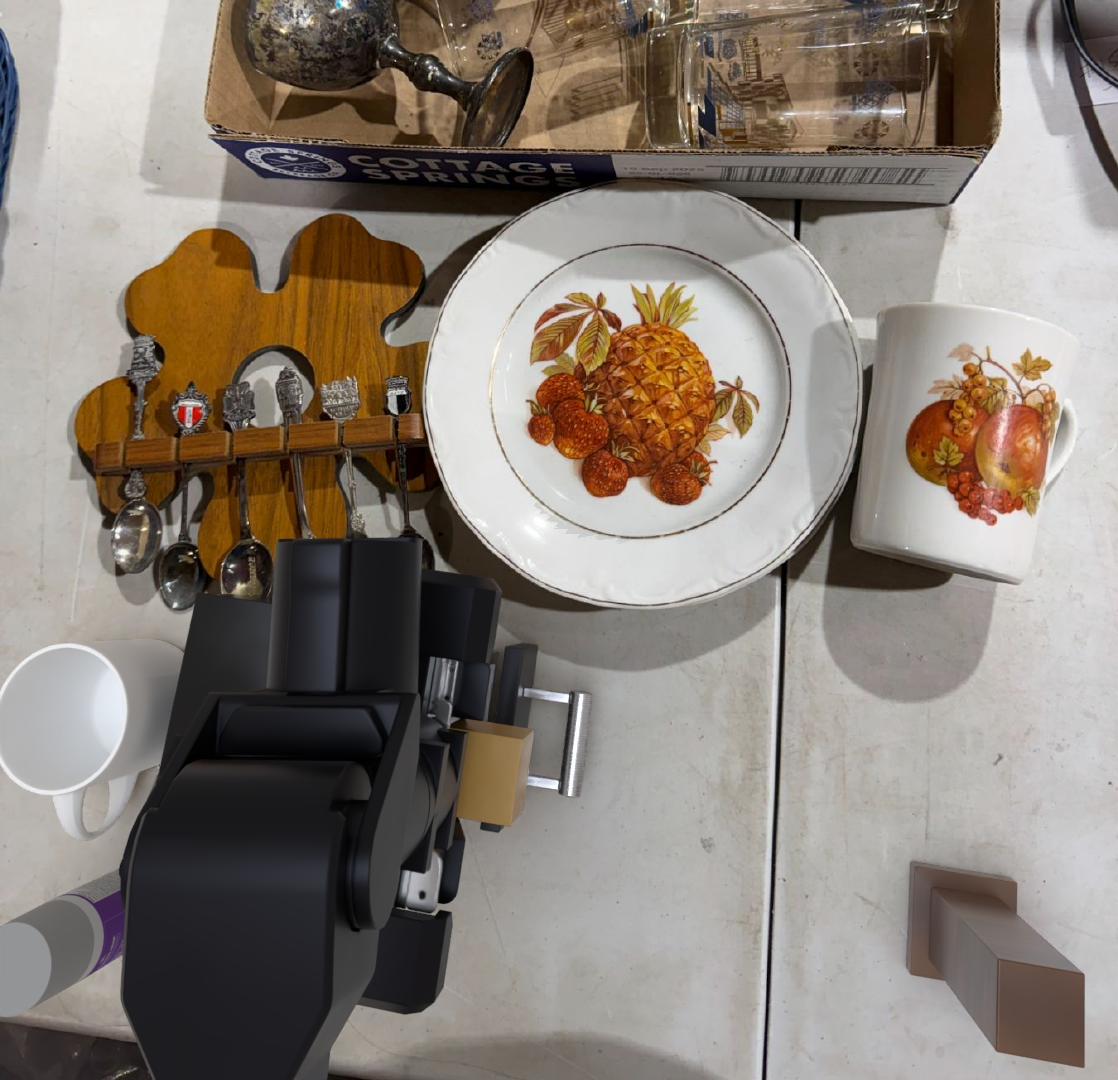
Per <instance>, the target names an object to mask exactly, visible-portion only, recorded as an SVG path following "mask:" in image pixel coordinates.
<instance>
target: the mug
mask: <svg viewBox="0 0 1118 1080" xmlns="http://www.w3.org/2000/svg"><path fill="white" fill-rule="evenodd" d="M183 655H184V651H182V650H181V649H180V648H179V647H177V646H175V645H174V644H171V643H168V642H167V641H164V640H159V639H155V638H154V639H153V638H129V639H116V640H115V639H112V640H95V641H78V642H77V641H75V642H61V643H55V644H51V645H49V646H45V647H43V648H40V649H39V650H37V651H34V652H33V653H32V654H30V655H29V656H27V657H26V658H25V659H24V660H22V661H21V662H20V663H19V664H18V665H17V666H16V667H15V668H14V669H13V670H12V671H11V673H10V674H9V675H8V677H7V678H6V680H5V681H4V683H3V685H2V687H1V688H0V766H1V768H2V770H3V771H4V773H5V774H6V775H7V776H8V777H9V779H11V780H12V781H13V783H15V784H16V785H18V786H19V787H20V788H22V789H24V790H27V791H28V792H31V793H34V794H37V795H40V796H41V795H42V796H51V798H52V801H53V805H54V809H55V812H56V815H57V818H58V820H59V823H60V824H61V826H62V828H63V830H64V831H65V832H66V834H67V835H68V836H70V837H71V838H72V839H74V840H77V841H79V842H90V841H92V840H95V839H96V838H98V837H100V836H102V835H104V834H105V833H106V832H107V831H108V830H110V829H111V828H112V827H113V826H114V825H115V823H116V822H117V821H118V820H119V818H120V817H121V815H122V814H123V812H124V811H125V809H126V807H127V806H128V804H129V802H130V799H131V796H132V794H133V792H134V789H135V786H136V783H137V780H138V776H139V774H140V773H141V772H143V771H147V770H149V769H151V768H154V767H156V766H158V765H160V764H161V759H162V754H163V750H164V745H165V740H166V736H167V731H168V726H169V721H170V717H171V712H172V707H173V703H174V698H175V693H176V688H177V684H178V679H179V674H180V670H181V665H182V660H183ZM106 782H107V784H108V791H109V793H108V795H109V802H108V809H107V813H106V815H105V818H104V820H103V822H102V824H101V825H100V827H98V828H97V829H96V830H94V831H88V829H86V827H85V823H84V817H83V811H84V810H83V809H84V802H85V795H86V792H87V790H88V788H90V787H94V786H95V785H99V784H103V783H106Z"/></svg>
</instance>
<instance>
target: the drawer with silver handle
mask: <svg viewBox="0 0 1118 1080" xmlns="http://www.w3.org/2000/svg"><path fill="white" fill-rule="evenodd" d="M538 650H539V645H538V644H535V643H527V642H519V643H514V644H510V645H505V646H504V649H503V657H502V665H501V672H500V679H499V685H498V686H499V687H498V692H497V693H498V695H497V700H496V709H495V716H494V722H493V723H497V724H503V725H509V726H515V727H521V728H528V729H529V720H530V711H531V705H532V699H533V700H537V701H545V702H552V703H558V704H564V705H565V704H566V705H568V709H567V717H566V725H565V735H564V741H563V749H562V750H563V751H562V759H561V768H560V775H559V777H558V778H557V777H552V776H545V775H539V774H532V773H528V781H527V787H532V788H538V789H545V790H552V791H558V792H557V793H558V794H559V795H560V796H563V797H566V798H571V799H572V798H573V799H577V798H581V797H582V792H583V791H582V790H583V784H584V774H585V767H586V758H587V749H588V748H587V747H588V739H589V731H590V722H591V713H592V704H593V697H594V695H593V692H589V691H584V690H577V689H572V690H570V691H569V692H564V691H557V690H551V689H545V688H537V687H534V681H535V675H536V673H535V672H536V665H537V659H538ZM499 660H500V650H498V649H493V652H492V655H491V658H490V662H489V665H490V670H491V672H490V679H489V686H488V693H487V699H486V706H485V713H484V720H483V721H485V722H491V716H492V709H493V702H494V696H495V688H496V680H497V673H498V667H499ZM428 717H430V718H431V717H435V715H433V714H428ZM458 719H460V718H455V717H452V718H451V723H453V722H454V721H456V720H458ZM504 828H505V826H502V825H497V824H491V823H486V822H480V825H479V830H480V831H484V832H491V833H495V834H496V833H497V834H499V833H501V831H502V830H503V829H504Z"/></svg>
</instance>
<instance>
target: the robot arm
mask: <svg viewBox="0 0 1118 1080" xmlns="http://www.w3.org/2000/svg"><path fill="white" fill-rule="evenodd" d="M274 554H275V555H274V569H273V584H272V585H273V586H272V596H271V598H272V612H271V627H270V642H269V657H268V672H267V687H266V689H263V690H258V691H253V692H209V693H208V695H207V696H206V698H205V700H204V702H203V703H202V705H201V707H200V709H199V710H198V712H197V714H196V715H195V717H194V719H193V721H192V722H191V724H190V726H189V728H188V729H187V731H186V733H185V735H175V737H174V739H173V742H172V744H171V746H170V748H169V751H168V753H167V755H166V757H165V760H164V762H163V764H162V766H161V769H160V771H159V770H158V772H157V775H156V778H155V780H154V782H153V785H152V787H151V789H150V791H149V793H148V795H147V798H146V801H145V802H144V804H143V806H141V809H140V811H139V812H138V814H137V815H136V816H137V817H136V818H135V821H134V823H133V825H132V827H131V830H130V831H129V834H128V838H127V840H126V844H125V847H124V852H123V854H122V859H121V861H120V863H119V867H118V869H119V876H120V878H121V884H120V893H121V899H122V904H123V909H124V911H125V925H124V941H123V955H121V958H122V959H121V974H120V987H119V988H120V990H119V992H120V993H119V994H120V995H119V999H120V1003H121V1007H122V1009H123V1012H124V1014H125V1017H126V1020H127V1021H128V1024H129V1027H130V1028H131V1031H132V1033H133V1036H134V1038H135V1041H136V1043H137V1046H138V1048H139V1050H140V1053H141V1055H142V1057H143V1060H144V1063H145V1065H146V1067H147V1069H148V1072H149V1074H150V1077H151V1079H152V1080H328V1075H329V1066H330V1057H331V1051H332V1048H333V1047H334V1044H335V1043H336V1041H337V1039H338V1037H339V1036H340V1034H341V1033H342V1031H343V1030H344V1029H343V1028H344V1027H345V1025H346V1023H347V1021H348V1020H349V1018H350V1017H351V1015H352V1013H353V1011H354V1010H355V1008H356V1007H357V1006H360V1007H366V1008H371V1009H376V1010H379V1011H385V1012H390V1013H394V1014H398V1015H403V1016H407V1015H413V1014H420V1013H422V1012H424V1011H425V1010H427V1009H428V1008H429V1007H431V1006H432V1005H433V1004H435V1003H436V1001H437V999H438V998H439V996H440V995H441V993H442V991H443V989H444V987H445V980H446V974H447V968H448V960H449V954H450V948H451V947H450V946H451V942H452V941H451V940H452V934H453V927H454V923H453V911H451V910H443V909H438V911H437V912H436V914H435V915H434V914H433V913H434V912H435V911H436V910H437V908H438V904H440V905H447V904H450V903H452V902H453V901H454V900H455V898H456V897H457V896H458V893H459V889H460V888H459V887H460V880H461V873H462V866H463V862H464V861H463V860H464V853H465V846H466V835H465V833H464V830H463V829H464V828H463V826H462V823H461V821H460V818H458V817H456V814H457V807H458V800H459V794H460V787H461V781H462V774H463V767H464V761H465V754H466V748H467V741H468V734H469V732H465V731H459V730H453V729H450V724H451V718H452V717H455V718H461V719H468V720H476V721H483V720H484V713H485V706H486V699H487V693H488V686H489V679H490V672H491V670H490V665H489V662H490V658H491V655H492V652H493V650H495V649H494V648H495V644H496V637H497V632H498V624H499V618H500V612H501V604H502V598H503V597H502V596H503V590H502V589H501V587H500V586H499V584H498V583H497V582H496V580H495V579H494V578H491V577H485V576H479V575H478V576H477V575H472V574H464V573H457V572H450V571H444V570H436V569H429V568H424V567H422V564H423V538H421V537H415V536H414V537H413V536H406V537H405V536H404V537H403V536H402V537H401V536H398V537H324V538H323V537H319V538H318V537H317V538H316V537H315V538H313V537H312V538H311V537H310V538H277V542H275V553H274ZM428 714H433V715H435V717H431V718H430V717H428Z"/></svg>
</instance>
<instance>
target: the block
mask: <svg viewBox="0 0 1118 1080" xmlns="http://www.w3.org/2000/svg"><path fill="white" fill-rule="evenodd" d="M450 729H453V730H459V731H465V732H469V734H468V741H467V748H466V754H465V761H464V767H463V774H462V781H461V787H460V794H459V800H458V807H457V814H456V817H458V818H459V819H463V820H468V821H469V820H470V821H475V822H479V823H481V822H486V823H491V824H497V825H502V826H504V827H509V828H511V827H512V826H513V824H515V822H516V821H517V819H518V818H519V817H520V815H521V814H522V813H523V811H524V809H525V802H526V794H527V787H528V786H527V781H528V774H530V764H531V758H532V750H533V749H532V748H533V744H534V743H533V742H534V735H535V729H533V728H529V727H528V728H521V727H515V726H509V725H503V724H497V723H494V722H491V721H490V722H485V721H476V720H468V719H461V718H460V719H458V720H456V721H454V722H453V723H451V724H450Z"/></svg>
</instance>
